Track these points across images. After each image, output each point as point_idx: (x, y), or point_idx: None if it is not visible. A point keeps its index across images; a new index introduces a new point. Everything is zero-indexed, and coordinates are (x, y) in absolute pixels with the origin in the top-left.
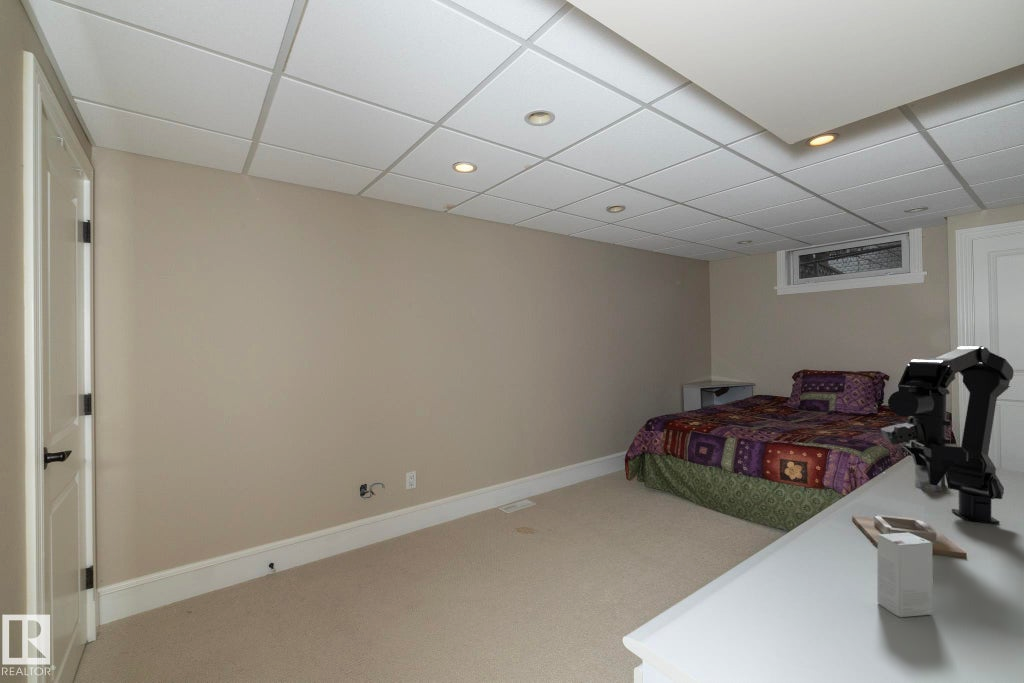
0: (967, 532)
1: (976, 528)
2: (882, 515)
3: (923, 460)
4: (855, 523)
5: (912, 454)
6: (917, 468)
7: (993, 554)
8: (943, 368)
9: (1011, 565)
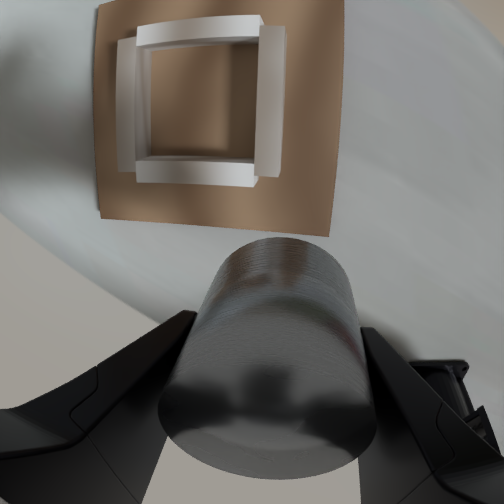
0: None
1: None
2: (279, 50)
3: (389, 477)
4: None
5: (479, 475)
6: (245, 345)
7: (163, 293)
8: None
9: (113, 290)
